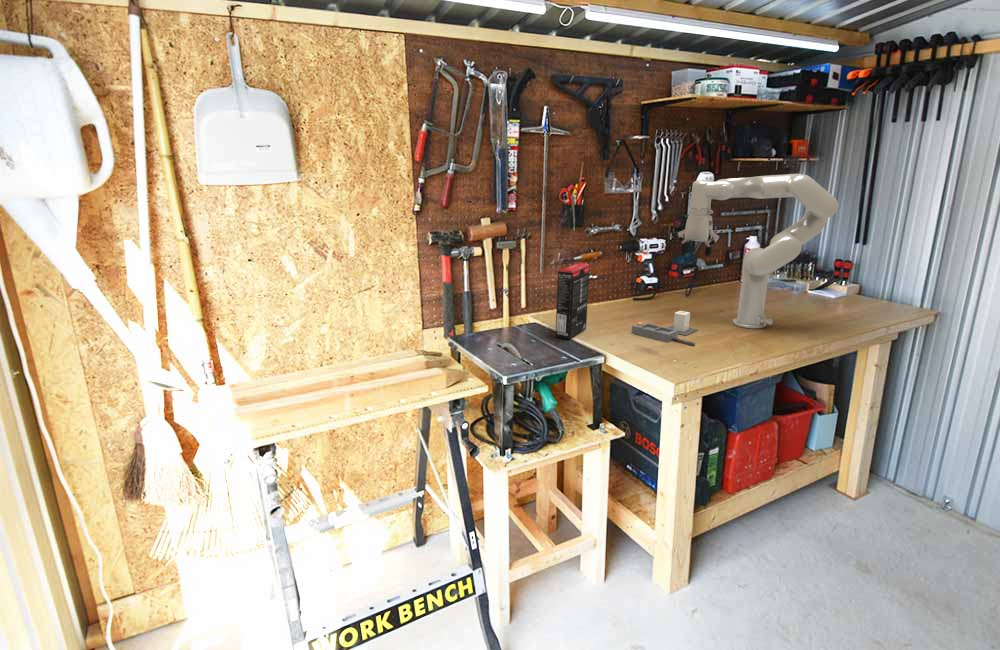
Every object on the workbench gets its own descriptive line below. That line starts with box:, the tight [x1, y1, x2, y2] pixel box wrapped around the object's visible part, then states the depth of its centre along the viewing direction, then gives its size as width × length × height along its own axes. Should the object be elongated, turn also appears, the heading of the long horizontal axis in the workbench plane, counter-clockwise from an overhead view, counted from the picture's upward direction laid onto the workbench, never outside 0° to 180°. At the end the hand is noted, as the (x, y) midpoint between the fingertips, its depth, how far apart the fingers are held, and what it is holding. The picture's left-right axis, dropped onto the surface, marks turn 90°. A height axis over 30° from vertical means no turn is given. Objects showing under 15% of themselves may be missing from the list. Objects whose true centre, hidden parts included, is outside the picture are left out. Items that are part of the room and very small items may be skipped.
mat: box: [667, 324, 699, 337], centre depth 219 cm, size 10×10×1 cm
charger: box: [672, 310, 691, 332], centre depth 218 cm, size 4×4×7 cm
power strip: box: [631, 321, 696, 347], centre depth 210 cm, size 25×7×4 cm, turn 43°
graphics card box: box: [555, 262, 591, 340], centre depth 214 cm, size 17×7×27 cm, turn 149°
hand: (696, 254), depth 223 cm, fingers open, 9 cm apart
